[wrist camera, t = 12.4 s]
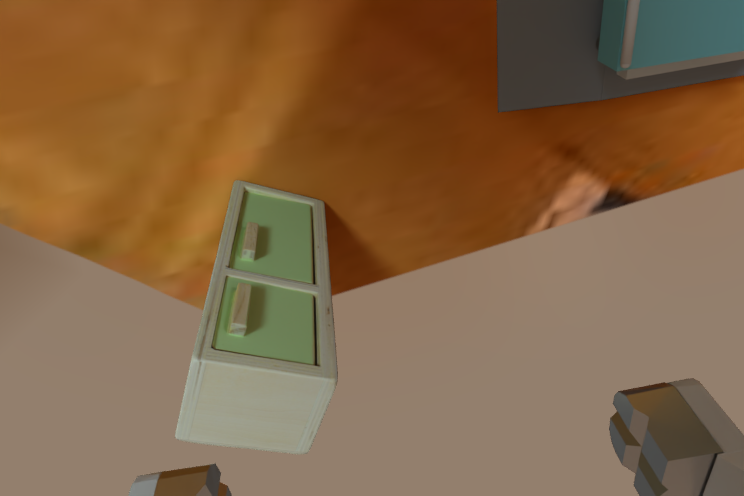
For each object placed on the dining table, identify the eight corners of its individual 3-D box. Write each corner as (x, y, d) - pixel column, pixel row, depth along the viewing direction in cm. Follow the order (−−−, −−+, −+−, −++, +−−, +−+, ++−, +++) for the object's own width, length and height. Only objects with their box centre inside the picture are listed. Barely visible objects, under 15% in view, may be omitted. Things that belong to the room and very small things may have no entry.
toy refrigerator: (330, 192, 46) (343, 374, 28) (307, 260, 49) (307, 459, 32) (236, 169, 43) (188, 349, 26) (220, 241, 47) (169, 442, 30)
